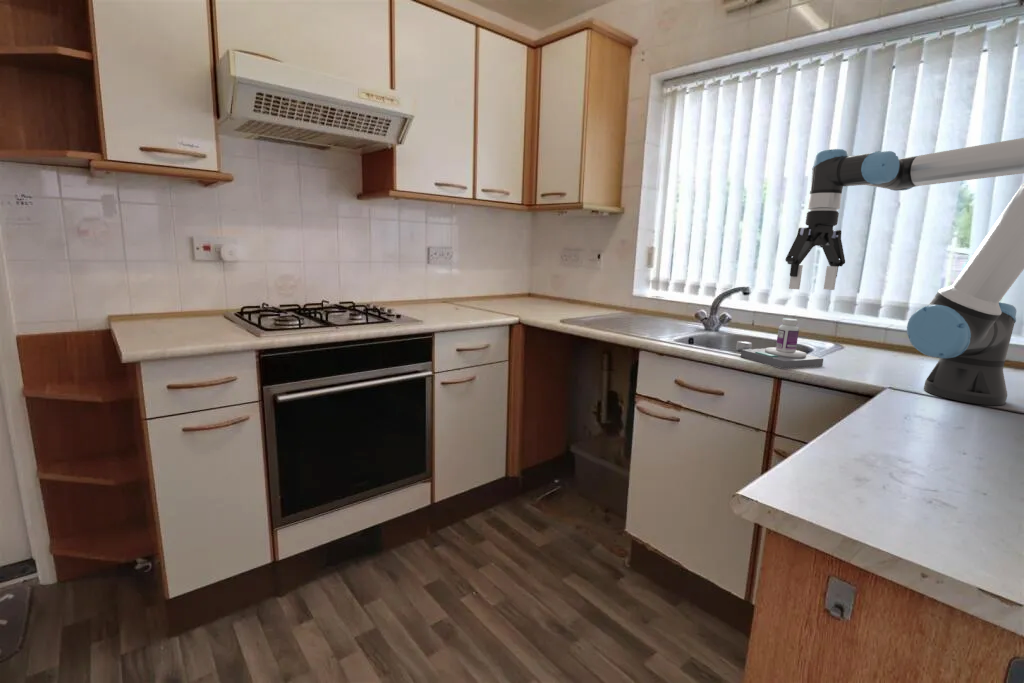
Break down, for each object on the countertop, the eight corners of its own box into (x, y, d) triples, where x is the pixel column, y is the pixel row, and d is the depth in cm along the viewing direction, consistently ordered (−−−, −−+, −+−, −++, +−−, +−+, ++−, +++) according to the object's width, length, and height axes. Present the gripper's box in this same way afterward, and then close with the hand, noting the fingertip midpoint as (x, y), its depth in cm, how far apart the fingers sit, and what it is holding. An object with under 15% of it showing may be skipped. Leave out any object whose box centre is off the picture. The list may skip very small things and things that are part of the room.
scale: (778, 354, 165) (779, 345, 164) (822, 366, 151) (823, 356, 151) (740, 356, 159) (741, 347, 158) (782, 368, 145) (784, 358, 145)
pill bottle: (796, 351, 156) (801, 319, 154) (794, 353, 151) (800, 321, 150) (776, 348, 159) (781, 317, 157) (774, 351, 154) (779, 318, 152)
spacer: (743, 349, 170) (744, 340, 170) (753, 352, 167) (755, 343, 166) (732, 350, 169) (734, 341, 168) (743, 353, 165) (744, 344, 164)
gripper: (841, 214, 149) (830, 288, 153) (777, 208, 140) (767, 287, 143) (867, 213, 142) (855, 290, 146) (802, 206, 133) (790, 289, 136)
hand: (811, 289), depth 145 cm, fingers open, 13 cm apart
